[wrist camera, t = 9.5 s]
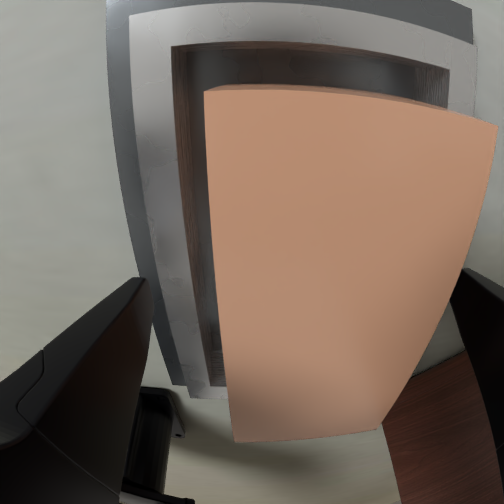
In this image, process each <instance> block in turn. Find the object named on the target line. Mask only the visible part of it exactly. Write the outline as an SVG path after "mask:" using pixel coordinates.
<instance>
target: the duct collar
mask: <svg viewBox="0 0 504 504" xmlns="http://www.w3.org/2000/svg"><path fill="white" fill-rule="evenodd" d="M106 46H107V70H108V86H109V98H110V109H111V119H112V128H113V137H114V145H115V152H116V159H117V166H118V172H119V179H120V185H121V191H122V196H123V202H124V207H125V212H126V218H127V223H128V227H129V232H130V237H131V241H132V246H133V250H134V255H135V259H136V263H137V267H138V271H139V275H140V277H145V278H147V280H148V281H149V285H150V289H151V293H152V297H153V301H154V312H153V319H152V323H153V326H154V330H155V333H156V336H157V340H158V343H159V346H160V349H161V352H162V355H163V358H164V361H165V364H166V367H167V370H168V373H169V376H170V379H171V382H172V384H173V385H180V386H187V388H188V392H189V395H190V398H203V399H228V392H227V384H226V376H225V368H224V359H223V350H222V341H221V332H220V322H219V312H218V302H217V292H216V281H215V270H214V258H213V246H212V233H211V220H210V206H209V191H208V174H207V157H206V137H205V114H204V91H206V90H209V89H212V88H215V87H218V86H222V85H225V84H295V85H313V86H326V87H337V88H346V89H355V90H363V91H370V92H377V93H384V94H390V95H395V96H399V97H404V98H408V99H412V100H416V101H420V102H424V103H428V104H432V105H435V106H439V107H443V108H446V109H449V110H453V111H456V112H459V113H462V114H465V115H469V116H472V117H473V113H474V103H475V90H476V73H477V46H474V45H473V28H472V9H470V8H467V7H465V6H463V5H461V4H458V3H456V2H454V1H451V0H106Z"/></svg>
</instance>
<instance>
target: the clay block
mask: <svg viewBox="0 0 504 504" xmlns="http://www.w3.org/2000/svg"><path fill="white" fill-rule="evenodd" d="M204 114H205V137H206V157H207V174H208V191H209V206H210V220H211V233H212V246H213V258H214V270H215V281H216V292H217V302H218V312H219V322H220V332H221V341H222V350H223V359H224V368H225V376H226V384H227V392H228V400H229V408H230V416H231V423H232V430H233V438H234V442H271V441H289V440H302V439H313V438H323V437H331V436H339V435H346V434H352V433H359V432H365V431H370V430H376V429H377V428H378V427H379V425H380V424H381V422H382V421H383V419H384V418H385V416H386V415H387V413H388V412H389V410H390V409H391V407H392V406H393V404H394V403H395V401H396V400H397V398H398V396H399V395H400V393H401V392H402V390H403V388H404V387H405V385H406V383H407V382H408V380H409V378H410V377H411V375H412V373H413V371H414V370H415V368H416V366H417V364H418V362H419V361H420V359H421V357H422V355H423V353H424V351H425V349H426V348H427V346H428V344H429V342H430V340H431V338H432V336H433V334H434V332H435V330H436V328H437V326H438V323H439V321H440V319H441V317H442V315H443V313H444V310H445V308H446V306H447V304H448V301H449V299H450V297H451V294H452V292H453V290H454V287H455V285H456V282H457V280H458V277H459V275H460V272H461V269H462V267H463V264H464V261H465V259H466V256H467V253H468V250H469V247H470V244H471V241H472V238H473V235H474V232H475V228H476V225H477V222H478V218H479V215H480V211H481V208H482V204H483V200H484V196H485V192H486V188H487V184H488V180H489V175H490V171H491V166H492V161H493V155H494V150H495V144H496V138H497V131H498V126H497V125H494V124H491V123H489V122H486V121H483V120H480V119H477V118H474V117H472V116H469V115H465V114H462V113H459V112H456V111H453V110H449V109H446V108H443V107H439V106H435V105H432V104H428V103H424V102H420V101H416V100H412V99H408V98H404V97H399V96H395V95H390V94H384V93H377V92H370V91H363V90H355V89H346V88H337V87H326V86H313V85H295V84H225V85H222V86H218V87H215V88H212V89H209V90H206V91H204Z"/></svg>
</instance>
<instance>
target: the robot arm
mask: <svg viewBox="0 0 504 504" xmlns="http://www.w3.org/2000/svg"><path fill="white" fill-rule="evenodd" d="M449 300H450V303H451V306H452V309H453V312H454V315H455V319H456V322H457V325H458V328H459V332H460V335H461V338H462V341H463V343H464V346H465V349H466V351H467V354H468V357H469V359H470V362H471V365H472V368H473V371H474V374H475V377H476V380H477V383H478V386H479V389H480V392H481V395H482V399H483V402H484V405H485V409H486V412H487V416H488V420H489V424H490V428H491V432H492V436H493V440H494V444H495V449H496V455H497V460H498V465H499V471H500V477H501V483H502V490H503V498H504V288H503V287H502V286H500V285H498V284H496V283H495V282H493V281H491V280H489V279H488V278H486V277H484V276H482V275H480V274H478V273H477V272H475V271H473V270H471V269H469V268H462V269H461V272H460V275H459V277H458V280H457V282H456V285H455V287H454V290H453V292H452V294H451V297H450V299H449ZM153 312H154V301H153V297H152V293H151V289H150V285H149V281H148V280H147V278H145V277H133V278H131V279H129V280H128V281H127V282H125V283H124V284H123V285H122V286H120V287H119V288H118V289H116V290H115V291H114V292H112V293H111V294H110V295H109V296H107V297H106V298H105V299H103V300H102V301H101V302H100V303H98V304H97V305H96V306H94V307H93V308H92V309H91V310H89V311H88V312H87V313H86V314H84V315H83V316H82V317H81V318H79V319H78V320H77V321H76V322H74V323H73V324H72V325H71V326H69V327H68V328H67V329H66V330H64V331H63V332H62V333H61V334H60V335H58V336H57V337H56V338H55V339H53V340H52V341H51V342H50V343H49V344H47V345H46V346H45V347H44V348H43V350H40V351H39V352H38V353H37V354H35V355H34V356H33V357H32V358H31V359H29V360H28V361H27V362H26V363H24V364H23V365H22V366H21V367H20V368H18V369H17V370H16V371H14V372H13V373H12V374H11V375H9V376H8V377H7V378H5V379H4V380H3V381H1V382H0V504H121V503H119V501H121V502H124V503H127V504H195V501H194V499H189V498H178V497H174V496H169V495H165V494H164V488H165V479H166V471H167V463H168V455H169V447H170V439H171V437H174V438H184V437H185V429H184V427H183V425H182V422H181V420H180V417H179V415H178V413H177V410H176V408H175V405H174V403H173V401H172V398H171V395H170V393H169V392H167V391H166V390H163V389H153V388H141V383H142V378H143V374H144V370H145V366H146V361H147V356H148V349H149V341H150V333H151V326H152V319H153Z"/></svg>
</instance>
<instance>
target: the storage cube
mask: <svg viewBox="0 0 504 504" xmlns="http://www.w3.org/2000/svg"><path fill="white" fill-rule="evenodd" d="M381 423H382V426H383V430H384V434H385V437H386V441H387V445H388V448H389V452H390V456H391V460H392V464H393V468H394V472H395V476H396V481H397V485H398V489H399V494H400V498H401V502H402V504H504V498H503V490H502V483H501V477H500V471H499V465H498V460H497V455H496V449H495V444H494V440H493V436H492V432H491V428H490V424H489V420H488V416H487V412H486V409H485V405H484V402H483V399H482V395H481V392H480V389H479V386H478V383H477V380H476V377H475V374H474V371H473V368H472V365H471V362H470V359H469V357H468V354H467V351H466V350H465V351H463V352H462V353H460V354H458V355H456V356H454V357H452V358H451V359H449V360H447V361H445V362H443V363H441V364H439V365H437V366H435V367H433V368H431V369H429V370H427V371H425V372H423V373H421V374H419V375H417V376H414V377H412V378H410V379H409V380H408V382H407V383H406V385H405V387H404V388H403V390H402V392H401V393H400V395H399V396H398V398H397V400H396V401H395V403H394V404H393V406H392V407H391V409H390V410H389V412H388V413H387V415H386V416H385V418H384V419H383V421H382V422H381Z"/></svg>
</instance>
